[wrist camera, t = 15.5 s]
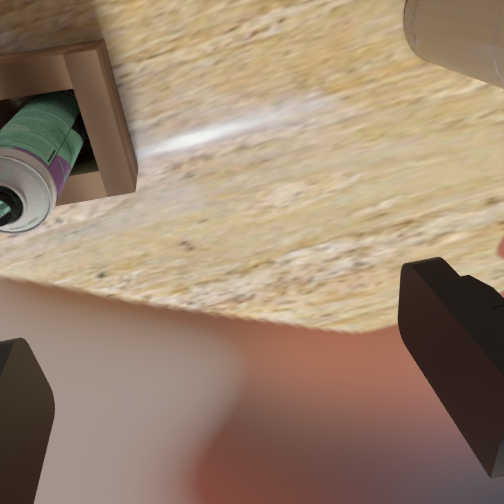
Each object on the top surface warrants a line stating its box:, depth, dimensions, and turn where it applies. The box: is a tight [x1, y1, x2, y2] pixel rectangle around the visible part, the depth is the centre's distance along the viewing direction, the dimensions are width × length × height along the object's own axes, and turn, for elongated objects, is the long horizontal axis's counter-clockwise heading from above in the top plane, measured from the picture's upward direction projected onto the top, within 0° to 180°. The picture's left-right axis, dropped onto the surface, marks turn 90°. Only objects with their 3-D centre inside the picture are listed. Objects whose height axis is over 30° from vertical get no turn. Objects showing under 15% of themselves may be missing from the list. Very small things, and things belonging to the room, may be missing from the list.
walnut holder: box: [0, 40, 138, 206], centre depth 41 cm, size 12×12×6 cm
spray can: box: [0, 90, 87, 234], centre depth 35 cm, size 6×6×20 cm
